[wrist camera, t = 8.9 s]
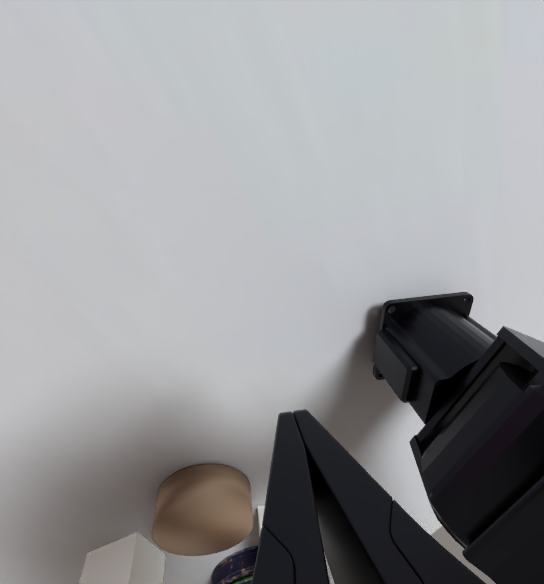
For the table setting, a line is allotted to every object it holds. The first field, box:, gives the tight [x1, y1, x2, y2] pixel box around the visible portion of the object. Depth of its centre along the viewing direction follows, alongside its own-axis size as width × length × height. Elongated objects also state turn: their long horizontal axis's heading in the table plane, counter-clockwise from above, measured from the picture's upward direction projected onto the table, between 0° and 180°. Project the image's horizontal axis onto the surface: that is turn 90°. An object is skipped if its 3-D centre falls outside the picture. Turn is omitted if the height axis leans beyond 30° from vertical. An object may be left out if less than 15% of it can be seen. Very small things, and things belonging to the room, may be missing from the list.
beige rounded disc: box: [152, 464, 253, 556], centre depth 28 cm, size 8×8×3 cm
